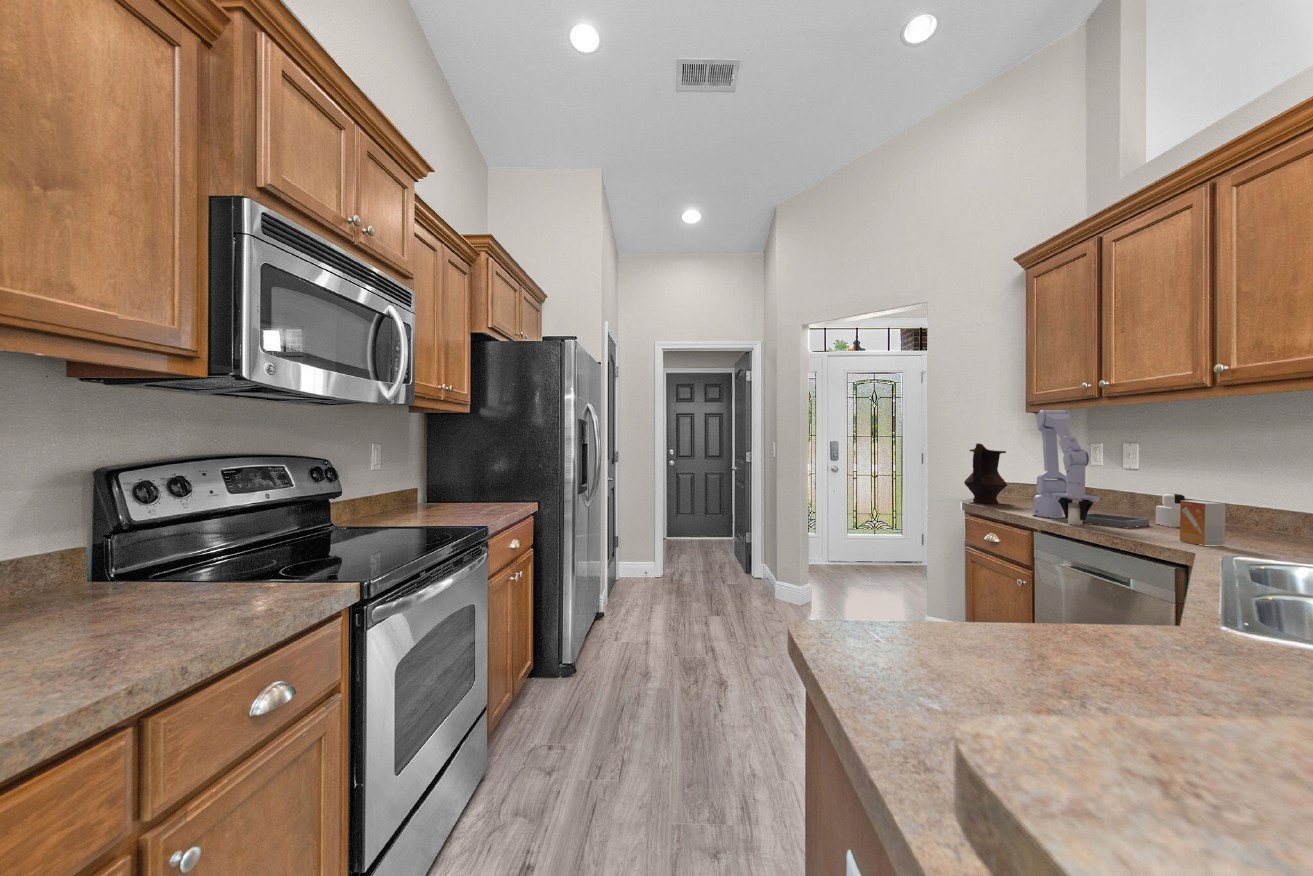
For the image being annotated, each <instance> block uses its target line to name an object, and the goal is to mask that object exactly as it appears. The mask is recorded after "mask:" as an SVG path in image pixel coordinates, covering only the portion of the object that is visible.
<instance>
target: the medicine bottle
mask: <svg viewBox="0 0 1313 876" xmlns="http://www.w3.org/2000/svg"><path fill="white" fill-rule="evenodd" d="M1185 497H1186V496H1185V495H1183V494H1180V493H1164V494H1163V495H1162V502H1161V503H1162V505H1155V525H1157V524H1160V525H1159V526H1162V525H1163V527H1167V526H1169V527H1168V528H1178V527H1180V501H1183V500H1186V498H1185Z"/></svg>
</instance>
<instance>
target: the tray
mask: <svg viewBox="0 0 1313 876" xmlns="http://www.w3.org/2000/svg"><path fill="white" fill-rule="evenodd" d="M1083 522H1085V523H1084V524H1087V523H1091V524H1090V525H1094V524H1101V525H1100V526H1102V525H1106V526H1105V527H1110V526H1115V527H1114V528H1118V527H1126V528H1127V527H1136V526H1144V527H1147V526H1146V525H1149V526H1150V518H1143V517H1142V518H1141V517H1131V516H1124V515H1114V514H1106V513H1097V512H1091V513H1089V512H1088V513H1087V516H1086V520H1083ZM1126 528H1125V529H1126ZM1136 528H1137V527H1136Z"/></svg>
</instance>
